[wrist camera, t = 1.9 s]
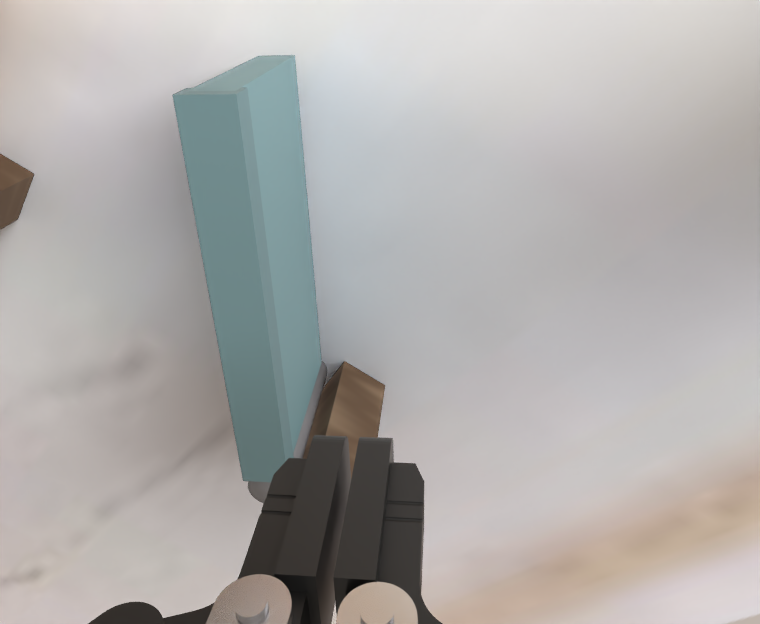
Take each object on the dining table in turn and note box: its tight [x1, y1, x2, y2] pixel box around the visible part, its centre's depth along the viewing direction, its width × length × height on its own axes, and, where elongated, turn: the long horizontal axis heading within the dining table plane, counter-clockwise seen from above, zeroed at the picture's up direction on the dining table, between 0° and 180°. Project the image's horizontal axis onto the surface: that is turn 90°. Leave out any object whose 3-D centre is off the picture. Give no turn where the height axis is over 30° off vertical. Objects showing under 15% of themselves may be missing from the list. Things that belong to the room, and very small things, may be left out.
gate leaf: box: [173, 55, 327, 503], centre depth 27 cm, size 18×2×10 cm, turn 1°
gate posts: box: [0, 154, 385, 478], centre depth 29 cm, size 25×3×11 cm, turn 56°
